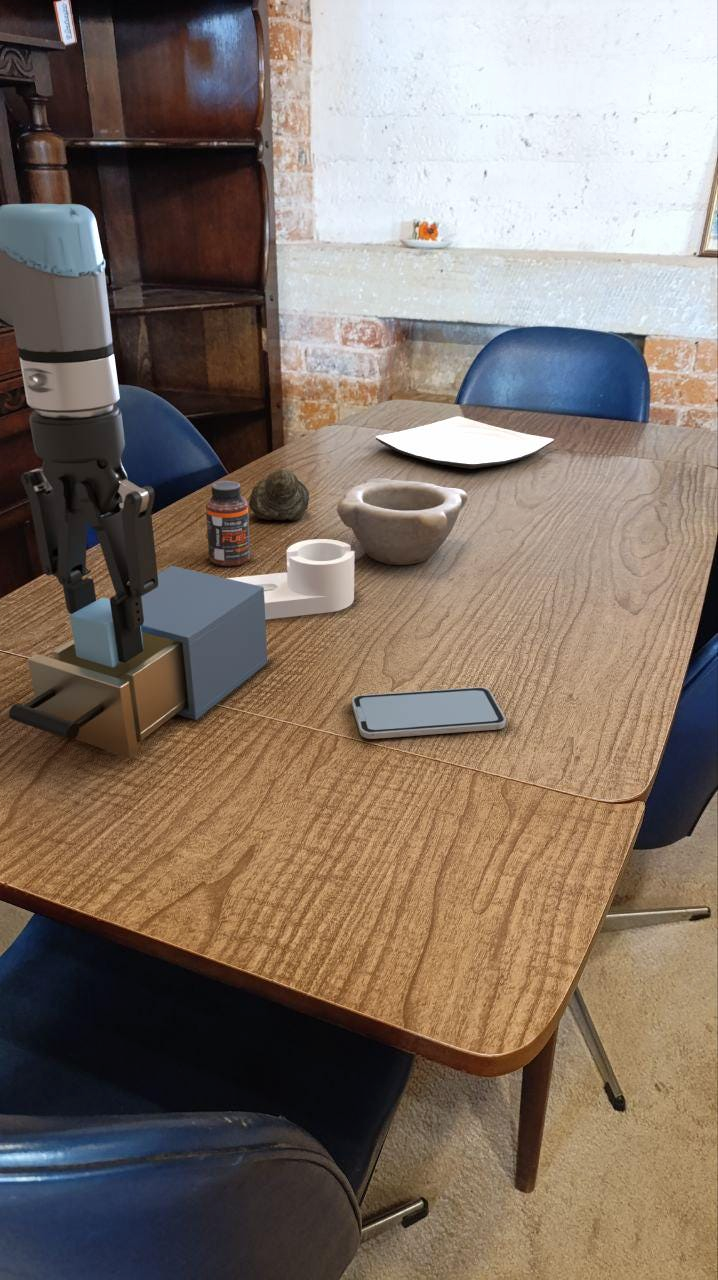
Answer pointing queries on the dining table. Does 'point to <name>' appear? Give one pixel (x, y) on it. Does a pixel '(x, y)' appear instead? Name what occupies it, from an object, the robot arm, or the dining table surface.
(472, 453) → the plate
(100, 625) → the cube
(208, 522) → the supplement bottle
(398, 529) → the mortar
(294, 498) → the seashell
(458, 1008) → the dining table surface
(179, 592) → the compartment
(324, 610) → the bracket
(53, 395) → the robot arm
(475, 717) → the smartphone
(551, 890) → the dining table surface
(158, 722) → the drawer
